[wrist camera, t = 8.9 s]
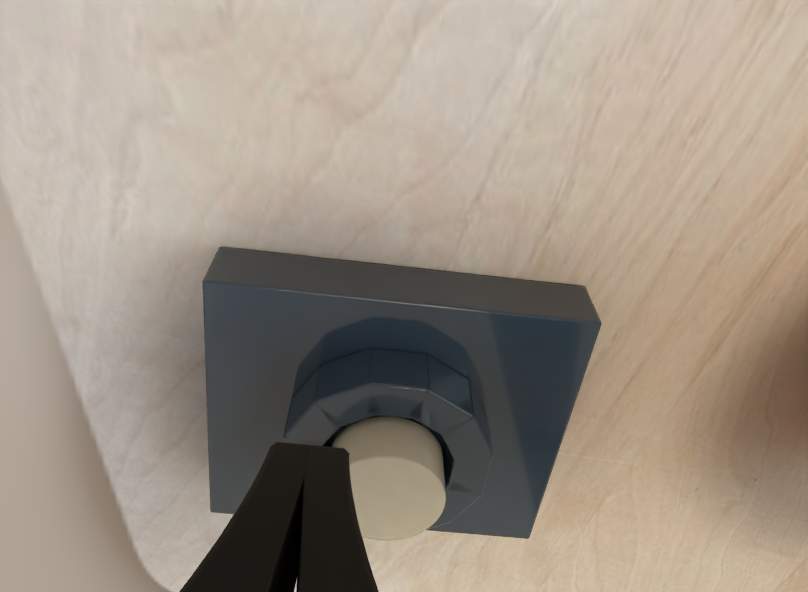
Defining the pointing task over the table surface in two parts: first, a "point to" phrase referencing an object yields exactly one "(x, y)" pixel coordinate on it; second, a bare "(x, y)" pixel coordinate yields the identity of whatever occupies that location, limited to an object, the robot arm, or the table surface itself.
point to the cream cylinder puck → (394, 476)
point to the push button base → (394, 372)
